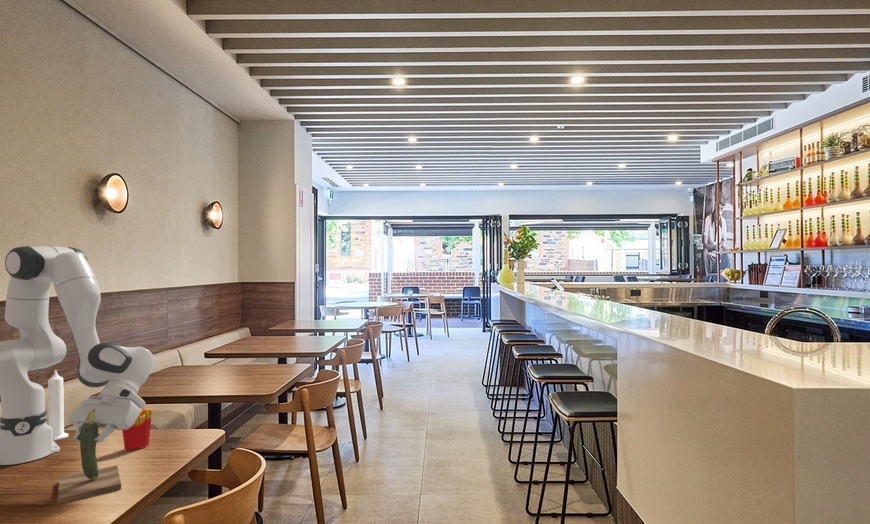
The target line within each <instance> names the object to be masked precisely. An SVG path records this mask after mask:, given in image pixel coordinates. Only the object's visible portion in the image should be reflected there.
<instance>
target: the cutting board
mask: <svg viewBox="0 0 870 524" xmlns="http://www.w3.org/2000/svg"><path fill="white" fill-rule="evenodd" d="M58 479H59V481H58V491H57V505H60V504H65V503H68V502H73V501H77V500H82V499H85V498H89V497H94V496H98V495H102V494H106V493H111V492H114V491H119V490H122V482H121V477H120V472H119V466H118V464H116V465H112V466H107V467H100V468H98V477H97V478H96V480H95V479H92V480H90V479H89V478H87V477H86V476H85V474H84V471H81V472H78V473H74V474H73V473H72V474H69V475H68V474H67V475H63V476H60V477H59V478H58Z"/></svg>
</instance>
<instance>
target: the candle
mask: <svg viewBox="0 0 870 524" xmlns="http://www.w3.org/2000/svg"><path fill="white" fill-rule="evenodd" d="M57 370H58V369H54V372H53V374H52V376H51V377H50V378H48V379H47V390H48V391H47V393H48V394H47V396H48V400H47V401H48V408H47V410H48V412H47V414H48V425H49V426H50V427H52V437H54V440H53V441H54V442H55V441H59V440H63V439H66V438H69V433H68V432H65V406H64V404H65V403H64V399H65V396H64V395H65V394H64V391H65V389H64V387H65V386H64V377H63V376H60V375H59V374H58V371H57Z"/></svg>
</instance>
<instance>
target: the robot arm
mask: <svg viewBox="0 0 870 524" xmlns="http://www.w3.org/2000/svg"><path fill="white" fill-rule="evenodd" d="M4 260H5V261H4V267H5V270H6V271H7V273H8V275H9V276H10V278H9V281H8V285H7V289H6V295H5V296H6V298H5V299H6V300H5V308H4V309H5V310H4V320H5V322H6V323H7V324H8V325H9V326H11V327H13V328H15V329H18V330H19V333H20V338H18V339H11V340H4V341H2V340H1V341H0V405H1V417H0V466H8V465H9V466H11V465H18V464H24V463H27V462H28V463H29V462H32V461H36V460H38V459H42V458H45V457H47V456H49V455H51V454H56V453H57V452H60V451H61V447H60V446H59V445H58V444H57V443H56V442H55V441H53V440H54V437H52V427H50V426H49V423H47V422H48V412H47V410H46V397H45V396H46V395H45V394H46V393H45V392H46V391H45V388H44V387H43V386H42V385H41V384H39V383H38V382H37V383H36V382H34V381H31V380H30V377H29V375H28V374H29V373H28V372H31V371H36V370H42V369H47V368H49V367H53V366H54V365H57V364H59V363H61V362H62V361H64V359H65V358H66V355H67V345H66V343H65V342H64V340H63V339H62V338H60V337H59V336H58V335H56V334H55V333H54V331H53V330H52V327H51V326H50V322H49V305H50V297H51V295H50V290H51V284H53V288H54V291H55V294H56V297H57V298H58V301H59V304H60V306H61V307H62V309H63V312H64V314H65V318H66V320H67V323H68V325H69V327H70V331H71V335H72V339H73V342H74V345H75V349H76V353H77V357H78V364H77V365H78V366H77V369H76V370H77V371H76V374H77V375H76V376H77V379H78V380H79V382H80V383H81V384H82V385H84V386H86V387H89V388H100V387H101V388H102V387H103V388H102V390H101V391H100V392H99V394H98V395H91V396H90V397H88V398H85V399H84V400H83V401H81V402H80V403H79V404H78V406H77V407H76V408H75V409H74V410H73V411H72V412H71V414H70V415H69V417H68V422H69V423H71V425H73V426H75V427H76V430H75V434H74V435H73V436H72V439H73V441H76V442H77V441H79V442H80V431H81V428H82V426H83V425H84V424H86V417H87V415H88V413H89V412H90V411H91V409H92V408H94V409H95V410H96V411H95V413H94V414H95V417H94V420H93V422H94V423H96V424H97V426H98V429H104V430H102V432H101V433H98V434H97V436H96V437H95V441H96V443H103V442H104V441H105V439H106V438H107V437H108V436H110V435H111V434H112V433H114V431H115V430H122V429H126V430H127V429H129V428H130V427H131V426H132V425H133V424H134V422H135V421H136V419H137V418H138V416H139V414H140V411H141V409H143V408H145V406H146V402H145V400H144V399H143V398H142V397H140V396H139V395H138V393H139V389H140V388H141V387H142V386H143V385H144V384H145V383H146V381H147V379H148V378H149V376H150V374H151V373H152V370H153V369H154V367H155V363H156V359H155V355H154V354H153V352H151V351H150V350H149V349H147V348H145V347H143V346H138V345H137V346H132V347H131V346H130V347H129V346H123V345H117V344H115V343H114V342H101V341H100V338H99V334H98V333H97V328H96V327H97V326H96V322H97V320H96V319H97V315H98V311H99V309H100V306H101V305H100V304H101V301H102V297H101V289H100V285H99V282H98V279H97V277H96V275H95V273H94V271H93V268H92V267H91V265H90V263H89V262H88V257H87V255H86V253H85V252H84V251H83V250H81V249H79V248H76V247H71V246H69V247H65V246H57V245H45V246H44V245H42V246H41V245H40V246H37V245H36V246H35V245H34V246H29V245H25V246H22V245H21V246H18V247H13V248H12V249H10V250H9V252H8V253H7V255H6V256H5V259H4Z"/></svg>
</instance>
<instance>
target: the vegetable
mask: <svg viewBox="0 0 870 524" xmlns="http://www.w3.org/2000/svg"><path fill="white" fill-rule="evenodd" d="M95 411H96V410H95V409H94V408H92V409H91V411H90V412H89V413H88V415H87V417H86V424H84V425H83V426H82V428H81V431H80V441H79V446H80V447H79V448H80V457H81V466H82V467H81V469H82V472H84V474H85V476H86V477H87V478H89V479H90V480H92V479H95V480H96V478H97V477H98V469H99V467H98V460H97V455H96V454H97V453H96V452H97V451H96V449H97V448H96V447H97V442H96V441H95V437H96V436H97V434H99V428H98V426H97V424H96V423H94V422H93V420H94V417H95V414H94V413H95Z"/></svg>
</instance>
